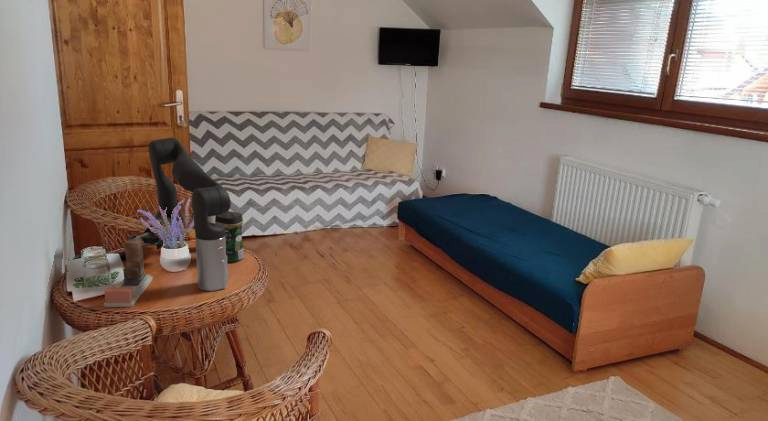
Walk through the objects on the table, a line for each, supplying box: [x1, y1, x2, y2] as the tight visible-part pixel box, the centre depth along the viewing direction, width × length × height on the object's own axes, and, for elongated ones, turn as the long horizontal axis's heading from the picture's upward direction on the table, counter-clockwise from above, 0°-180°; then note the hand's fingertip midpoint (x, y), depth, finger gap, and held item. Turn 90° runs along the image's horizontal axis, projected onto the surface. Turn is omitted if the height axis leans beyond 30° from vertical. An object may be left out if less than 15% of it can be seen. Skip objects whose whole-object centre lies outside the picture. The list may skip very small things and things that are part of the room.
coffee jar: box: [215, 210, 244, 263], centre depth 203 cm, size 10×8×19 cm
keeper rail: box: [103, 273, 153, 308], centre depth 173 cm, size 8×21×5 cm, turn 7°
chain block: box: [122, 239, 146, 285], centre depth 177 cm, size 4×7×13 cm, turn 7°
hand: (144, 246), depth 189 cm, fingers open, 8 cm apart
